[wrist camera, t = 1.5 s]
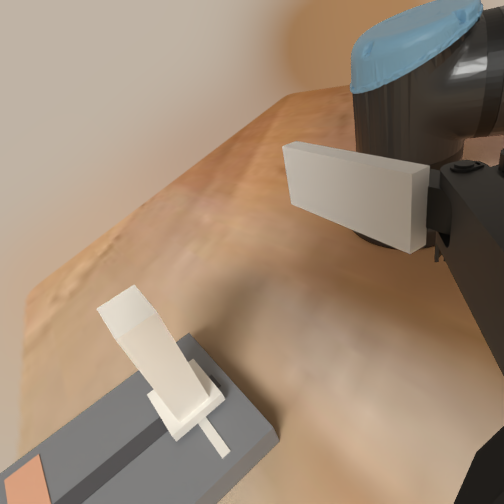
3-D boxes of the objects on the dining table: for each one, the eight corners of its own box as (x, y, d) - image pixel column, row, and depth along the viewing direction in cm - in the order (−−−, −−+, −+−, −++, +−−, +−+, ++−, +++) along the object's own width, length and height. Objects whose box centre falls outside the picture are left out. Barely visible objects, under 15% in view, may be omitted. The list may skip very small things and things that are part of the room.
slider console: (196, 346, 40) (188, 332, 39) (279, 441, 30) (273, 426, 29) (-31, 521, 31) (-53, 511, 30) (-18, 733, 22) (-51, 736, 20)
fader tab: (196, 364, 35) (143, 273, 27) (225, 399, 31) (173, 306, 24) (151, 400, 33) (81, 313, 25) (176, 441, 29) (103, 354, 22)
